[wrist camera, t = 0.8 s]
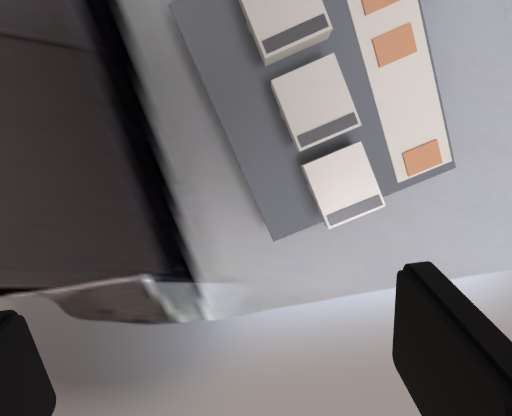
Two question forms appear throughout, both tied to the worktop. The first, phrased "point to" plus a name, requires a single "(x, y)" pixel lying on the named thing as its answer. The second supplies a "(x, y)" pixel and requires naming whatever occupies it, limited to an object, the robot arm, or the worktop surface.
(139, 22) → the worktop surface
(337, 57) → the switch unit
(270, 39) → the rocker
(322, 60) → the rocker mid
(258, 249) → the worktop surface
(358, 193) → the rocker
